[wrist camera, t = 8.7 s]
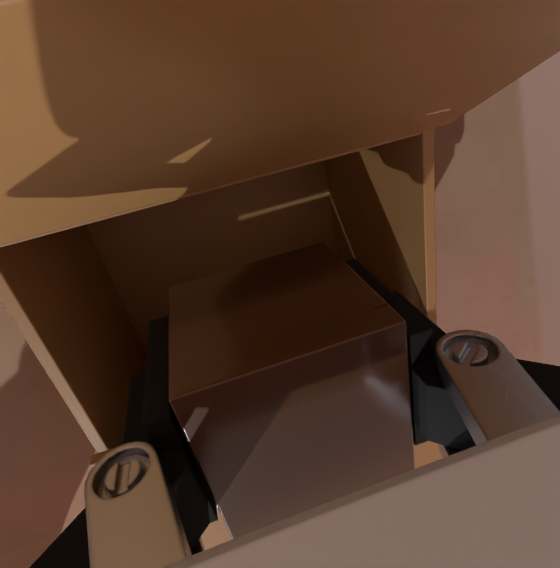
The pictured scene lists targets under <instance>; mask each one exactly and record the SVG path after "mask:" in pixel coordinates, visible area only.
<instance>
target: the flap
mask: <svg viewBox="0 0 560 568" xmlns="http://www.w3.org/2000/svg"><path fill="white" fill-rule="evenodd" d="M559 51H560V0H0V245H1V244H4V243H8V242H12V241H15V240H19V239H23V238H27V237H30V236H34V235H38V234H42V233H45V232H49V231H53V230H56V229H60V228H64V227H68V226H71V225H75V224H79V223H83V222H86V221H90V220H94V219H98V218H101V217H105V216H109V215H112V214H116V213H120V212H124V211H127V210H131V209H135V208H139V207H142V206H146V205H150V204H153V203H157V202H161V201H165V200H168V199H172V198H176V197H180V196H183V195H187V194H191V193H194V192H198V191H202V190H206V189H209V188H213V187H217V186H221V185H224V184H228V183H232V182H235V181H239V180H243V179H247V178H250V177H254V176H258V175H262V174H265V173H269V172H273V171H276V170H280V169H284V168H288V167H291V166H295V165H299V164H303V163H306V162H310V161H314V160H317V159H321V158H325V157H329V156H332V155H336V154H340V153H344V152H347V151H351V150H355V149H358V148H362V147H366V146H370V145H373V144H377V143H381V142H385V141H388V140H392V139H396V138H399V137H403V136H407V135H411V134H414V133H418V132H422V131H426V130H429V129H433V128H437V127H440V126H444V125H448V124H450V123H451V122H453V121H454V120H456V119H457V118H459V117H460V116H462V115H463V114H465V113H466V112H468V111H469V110H471V109H473V108H474V107H476V106H477V105H479V104H480V103H482V102H483V101H485V100H486V99H488V98H489V97H491V96H492V95H494V94H495V93H497V92H498V91H500V90H501V89H503V88H504V87H506V86H507V85H509V84H510V83H512V82H513V81H515V80H516V79H518V78H519V77H521V76H522V75H524V74H526V73H527V72H528V71H530V70H532V69H533V68H535V67H536V66H538V65H539V64H541V63H542V62H544V61H545V60H547V59H548V58H550V57H551V56H553V55H554V54H556V53H557V52H559Z"/></svg>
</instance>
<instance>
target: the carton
mask: <svg viewBox="0 0 560 568" xmlns="http://www.w3.org/2000/svg"><path fill="white" fill-rule="evenodd" d="M320 242H325V243H326V244H327V245H328V246H329V247H330V248H331V249H332V250H333V251H334V252H335V253H336V254H337V255H338V256H339V257H340V258H341V259H342V260H343V261H344V262H345V261H348V260H352V259H356V260H357V261H358V262H359V263H361V264H362V265H363V266H364V267H365V268H366V269H367V270H368V271H369V272H371V273H372V274H373V275H374V276H375V277H376V278H377V279H378V280H379V281H381V282H382V283H383V284H384V285H385V286H386V287H387V288H388V289H389V290H391V291H397V292H399V293H400V294H401V295H402V296H404V297H405V298H406V299H407V300H408V301H409V302H410V303H412V304H413V305H414V306H415V307H416V308H417V309H418V310H419V311H421V312H422V313H423V314H424V315H425V316H426V317H427V318H429V319H430V320H431V321H432V322H433V323H434V324H435V325H437V323H436V251H435V179H434V128H433V129H429V130H426V131H422V132H418V133H414V134H411V135H407V136H403V137H399V138H396V139H392V140H388V141H385V142H381V143H377V144H373V145H370V146H366V147H362V148H358V149H355V150H351V151H347V152H344V153H340V154H336V155H332V156H329V157H325V158H321V159H317V160H314V161H310V162H306V163H303V164H299V165H295V166H291V167H288V168H284V169H280V170H276V171H273V172H269V173H265V174H262V175H258V176H254V177H250V178H247V179H243V180H239V181H235V182H232V183H228V184H224V185H221V186H217V187H213V188H209V189H206V190H202V191H198V192H194V193H191V194H187V195H183V196H180V197H176V198H172V199H168V200H165V201H161V202H157V203H153V204H150V205H146V206H142V207H139V208H135V209H131V210H127V211H124V212H120V213H116V214H112V215H109V216H105V217H101V218H98V219H94V220H90V221H86V222H83V223H79V224H75V225H71V226H68V227H64V228H60V229H56V230H53V231H49V232H45V233H42V234H38V235H34V236H30V237H27V238H23V239H19V240H15V241H12V242H8V243H4V244H1V245H0V300H1V302H2V303H3V305H4V307H5V308H6V310H7V311H8V313H9V314H10V316H11V318H12V319H13V321H14V322H15V324H16V326H17V327H18V329H19V330H20V332H21V333H22V335H23V337H24V338H25V340H26V341H27V343H28V344H29V346H30V348H31V349H32V351H33V352H34V354H35V356H36V357H37V359H38V360H39V362H40V363H41V365H42V367H43V368H44V370H45V371H46V373H47V374H48V376H49V378H50V379H51V381H52V382H53V384H54V386H55V387H56V389H57V390H58V392H59V393H60V395H61V397H62V398H63V400H64V401H65V403H66V404H67V406H68V408H69V409H70V411H71V412H72V414H73V416H74V417H75V419H76V420H77V422H78V423H79V425H80V427H81V428H82V430H83V431H84V433H85V434H86V436H87V438H88V439H89V441H90V442H91V444H92V446H93V447H94V449H95V450H96V452H97V454H94V455H92V457H91V463H90V465H91V467H92V468H93V467H94V465H95V464H96V463H97V461H99V460H100V459H101V458H102V457H103V456H104V455H105V454H106V453H108V452H109V451H111V450H112V449H114V448H116V447H117V446H120V445H122V444H123V438H124V430H125V422H126V413H127V405H128V397H129V389H130V381H131V376H132V375H133V374H136V373H139V372H142V371H145V370H146V360H147V346H148V332H149V322H150V321H151V320H155V319H158V318H161V317H164V316H168V288H169V287H171V286H174V285H178V284H181V283H185V282H188V281H191V280H195V279H198V278H202V277H205V276H208V275H212V274H215V273H218V272H222V271H225V270H229V269H232V268H235V267H239V266H242V265H246V264H249V263H252V262H256V261H259V260H262V259H266V258H269V257H273V256H276V255H279V254H283V253H286V252H290V251H293V250H296V249H300V248H303V247H306V246H310V245H313V244H317V243H320ZM413 445H414V443H413ZM440 459H442V455H441V453H440V451H439V447H438V443H434V442H431V441H427V442H424V443H421V444H419V445H416V446H415V445H414V461H415V469H416V468H419V467H421V466H424V465H426V464H429V463H432V462H434V461H437V460H440ZM216 508H217V516H218V520H217V521H215V522H212V523H210V524H209V525H208V527H207V528H206V530H205V531H204V533H203V534H202V536H201V539H202V541H203V544H204V547H205V550H207V549H210V548H212V547H215V546H217V545H220V544H222V543H225V542H227V541H230V540H232V538H231V535H230V533H229V531H228V529H227V527H226V524H225V522H224V520H223V518H222V516H221V514H220V511H219V509H218V507H217V505H216Z"/></svg>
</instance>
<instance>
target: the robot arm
mask: <svg viewBox="0 0 560 568" xmlns="http://www.w3.org/2000/svg"><path fill="white" fill-rule="evenodd" d="M345 263H346V264H347V265H348V266H350V267H351V268H352V269H353V270H354V271H355V272H356V273H357V274H358V275H359V276H360V277H361V278H362V279H363V280H364V281H365V282H366V283H367V284H368V285H369V286H370V287H371V288H372V289H373V290H374V291H375V292H376V293H377V294H378V295H379V296H380V297H381V298H382V299H384V300H385V301H386V302H387V303H388V304H389V305H390V306H391V307H392V308H393V309H394V310H395V311H396V312H397V313H398V314H399V315H400V316H401V317H402V318H403V319H404V320H405V321H406V328H407V345H408V361H409V378H410V395H411V411H412V428H413V443H414V445H415V446H416V445H419V444H421V443H424V442H427V441H431V442H434V443H438V447H439V451H440V453H441V455H442V459H440V460H437V461H434V462H432V463H429V464H426V465H424V466H421V467H419V468H416V469H413V470H411V471H408V472H405V473H403V474H400V475H398V476H395V477H392V478H390V479H387V480H385V481H382V482H379V483H377V484H374V485H372V486H369V487H366V488H364V489H361V490H359V491H356V492H353V493H351V494H348V495H346V496H343V497H340V498H338V499H335V500H333V501H330V502H328V503H325V504H322V505H320V506H317V507H315V508H312V509H309V510H307V511H304V512H302V513H299V514H296V515H294V516H291V517H289V518H286V519H284V520H281V521H278V522H276V523H273V524H271V525H268V526H266V527H263V528H261V529H258V530H255V531H253V532H250V533H248V534H245V535H243V536H240V537H238V538H235V539H232V540H230V541H227V542H225V543H222V544H220V545H217V546H215V547H212V548H210V549H207V550H205V547H204V544H203V541H202V539H201V536H202V534H203V533H204V531H205V530H206V528H207V527H208V525H209V524H210V523H212V522H215V521H217V520H218V516H217V508H216V503H215V500H214V498H213V496H212V494H211V492H210V490H209V487H208V485H207V483H206V481H205V479H204V476H203V474H202V472H201V470H200V468H199V466H198V463H197V461H196V459H195V457H194V455H193V452H192V450H191V448H190V446H189V444H188V442H187V439H186V437H185V435H184V433H183V431H182V428H181V426H180V424H179V422H178V420H177V418H176V415H175V413H174V411H173V409H172V407H171V404H170V402H169V368H168V316H164V317H161V318H158V319H155V320H151V321H150V322H149V332H148V346H147V360H146V370H145V371H142V372H139V373H136V374H133V375H132V376H131V381H130V389H129V397H128V405H127V413H126V422H125V430H124V438H123V444H122V445H120V446H117V447H116V448H114V449H112V450H111V451H109V452H108V453H106V454H105V455H104V456H103V457H102V458H101V459H100V460H99V461H97V463H96V464H95V465H94V467H93V468H92V469H91V471H90V472H89V475H88V477H87V479H86V481H85V489H84V494H85V509H84V510H83V511H82V512H81V513H80V514H79V515H78V516H77V517H76V518H75V519H74V520H73V522H72V523H71V524H70V525H69V526H68V527H67V528H66V529H65V530H64V531H63V532H62V533H61V534H60V535H59V537H58V538H57V539H56V540H55V541H54V542H53V543H52V544H51V545H50V546H49V547H48V548H47V549H46V550H45V552H44V553H43V554H42V555H41V556H40V557H39V558H38V559H37V560H36V561H35V562H34V563H33V564H32V565H31V567H30V568H560V366H554V365H549V364H543V363H537V362H531V361H525V360H519V359H515V358H514V356H513V355H512V354H511V353H510V352H509V350H508V349H507V348H506V347H505V346H504V344H503V343H502V342H500V341H499V340H498V339H497V338H495V337H493V336H491V335H489V334H487V333H484V332H480V331H474V330H458V331H454V332H450V333H447V334H446V333H445V332H443V331H442V330H441V329H440V328H439V327H438V326H437V325H435V324H434V323H433V322H432V321H431V320H430V319H429V318H427V317H426V316H425V315H424V314H423V313H422V312H421V311H419V310H418V309H417V308H416V307H415V306H414V305H413V304H412V303H410V302H409V301H408V300H407V299H406V298H405V297H404V296H402V295H401V294H400V293H399V292H397V291H391V290H389V289H388V288H387V287H386V286H385V285H384V284H383V283H382V282H381V281H379V280H378V279H377V278H376V277H375V276H374V275H373V274H372V273H371V272H369V271H368V270H367V269H366V268H365V267H364V266H363V265H362V264H361V263H359V262H358V261H357V260H356V259H352V260H348V261H345Z"/></svg>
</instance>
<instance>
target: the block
mask: <svg viewBox="0 0 560 568" xmlns="http://www.w3.org/2000/svg"><path fill="white" fill-rule="evenodd" d="M168 368H169V402H170V404H171V407H172V409H173V411H174V413H175V415H176V418H177V420H178V422H179V424H180V426H181V428H182V431H183V433H184V435H185V437H186V439H187V442H188V444H189V446H190V448H191V450H192V452H193V455H194V457H195V459H196V461H197V463H198V466H199V468H200V470H201V472H202V474H203V476H204V479H205V481H206V483H207V485H208V487H209V490H210V492H211V494H212V496H213V498H214V500H215V503H216V505H217V507H218V509H219V511H220V514H221V516H222V518H223V520H224V522H225V524H226V527H227V529H228V531H229V533H230V535H231V538H232V539H235V538H238V537H240V536H243V535H245V534H248V533H250V532H253V531H255V530H258V529H261V528H263V527H266V526H268V525H271V524H273V523H276V522H278V521H281V520H284V519H286V518H289V517H291V516H294V515H296V514H299V513H302V512H304V511H307V510H309V509H312V508H315V507H317V506H320V505H322V504H325V503H328V502H330V501H333V500H335V499H338V498H340V497H343V496H346V495H348V494H351V493H353V492H356V491H359V490H361V489H364V488H366V487H369V486H372V485H374V484H377V483H379V482H382V481H385V480H387V479H390V478H392V477H395V476H398V475H400V474H403V473H405V472H408V471H411V470H413V469H415V461H414V445H413V428H412V411H411V395H410V378H409V361H408V345H407V328H406V321H405V320H404V319H403V318H402V317H401V316H400V315H399V314H398V313H397V312H396V311H395V310H394V309H393V308H392V307H391V306H390V305H389V304H388V303H387V302H386V301H385V300H384V299H382V298H381V297H380V296H379V295H378V294H377V293H376V292H375V291H374V290H373V289H372V288H371V287H370V286H369V285H368V284H367V283H366V282H365V281H364V280H363V279H362V278H361V277H360V276H359V275H358V274H357V273H356V272H355V271H354V270H353V269H352V268H351V267H350V266H348V265H347V264H346V263H345V262H344V261H343V260H342V259H341V258H340V257H339V256H338V255H337V254H336V253H335V252H334V251H333V250H332V249H331V248H330V247H329V246H328V245H327V244H326V243H325V242H320V243H317V244H313V245H310V246H306V247H303V248H300V249H296V250H293V251H290V252H286V253H283V254H279V255H276V256H273V257H269V258H266V259H262V260H259V261H256V262H252V263H249V264H246V265H242V266H239V267H235V268H232V269H229V270H225V271H222V272H218V273H215V274H212V275H208V276H205V277H202V278H198V279H195V280H191V281H188V282H185V283H181V284H178V285H174V286H171V287H169V288H168Z"/></svg>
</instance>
